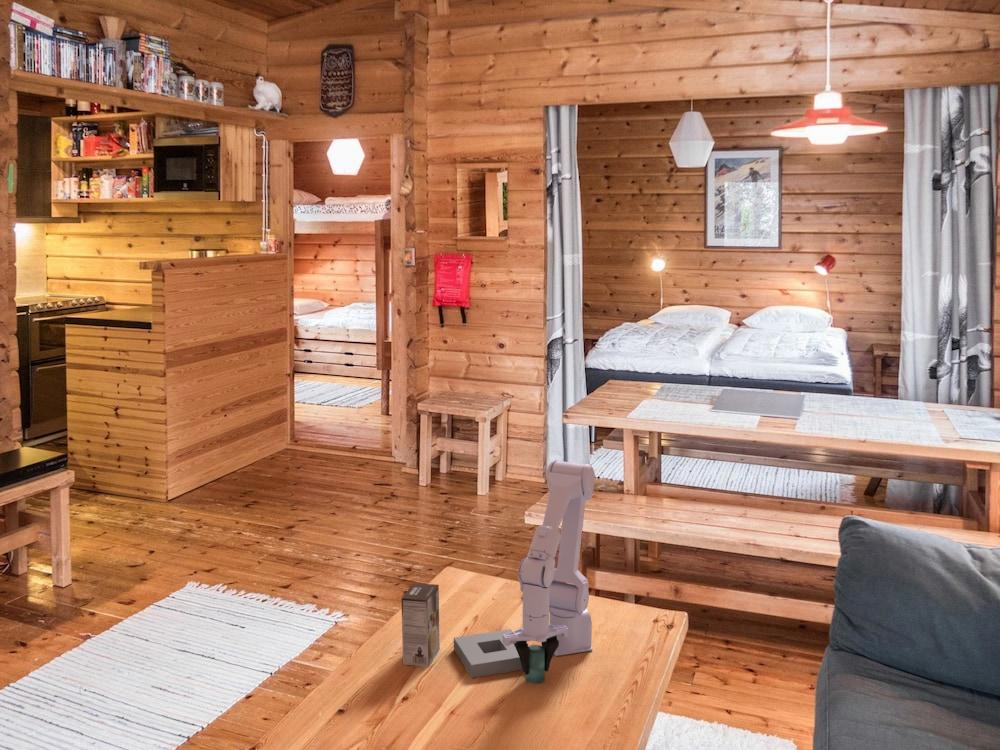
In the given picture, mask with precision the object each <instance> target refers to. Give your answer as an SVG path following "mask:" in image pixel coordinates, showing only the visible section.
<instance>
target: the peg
mask: <svg viewBox="0 0 1000 750" xmlns="http://www.w3.org/2000/svg"><path fill="white" fill-rule="evenodd" d="M528 647H529V648H530V649H531V650H530V655H529V674H528V675H525V680H526V681H527V683H530V684H532V683H533V684H534V683H535V684H534V685H538V684H543V683H544V682H545V679H546V678H545V676H546V675H545V672H546V671H545V648H544V647H542V645H538V644H532V645H531V644H530V645H528Z"/></svg>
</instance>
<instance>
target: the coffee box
mask: <svg viewBox="0 0 1000 750" xmlns="http://www.w3.org/2000/svg"><path fill="white" fill-rule="evenodd" d="M439 586H440V584H434V583H433V584H431V583H430V584H429V583H415V582H413V583H412V584H411V585H410V586H409V587H408V589H407V591H406V592H405V593H404V594H403V596H402V597H401V598H400V600H401V632H402V633H401V635H402V637H401V638H402V641H401V642H402V664H403V665H404V664H405V665H406V666H414V665H415V667H426V668H429V667H430V665H431V664H432V662H433V661H434V659H435V658H436V655H437V654H438V652H439V651H440V649H441V648H440V597H439V595H440V594H439V591H440V589H439ZM405 665H404V666H405Z"/></svg>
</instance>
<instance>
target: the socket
mask: <svg viewBox="0 0 1000 750" xmlns="http://www.w3.org/2000/svg"><path fill="white" fill-rule="evenodd" d="M510 632H513V630H512V629H511V628H510V629H502V630H496V631H490V632H483V633H477V634H469V635H463V636H457V637H453V651H454V652H455V654H456V655H457V657H458V659H459V660H460V662H461V663H462V665H463V666H464V668H465V670H466V671H467V673H468V674H469V676H470V678H471V679H472V678H473V679H474V678H478V677H479V678H480V677H486V676H492V675H497V674H503V673H509V672H514V671H520V670H521V671H522V665H521V661H520V658H519V655H518V652H517V650H516V648H515V646H514V644H510V646H505V645H504V644H503V634H506V633H510Z"/></svg>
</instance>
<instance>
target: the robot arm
mask: <svg viewBox="0 0 1000 750" xmlns="http://www.w3.org/2000/svg"><path fill="white" fill-rule="evenodd" d="M594 469H595V468H594V467H593V466H592V464H590V463H587V464H585V463H579V462H578V463H577V462H571V461H570V462H568V461H562V460H561V461H560V460H557V459H554V460H552V461H551V462H550V463H549V464H548V467H547V469H546V481H547V487H548V491H549V495H548V499H547V504H546V509H545V512H544V513H545V514H544V517H543V520H542V524H541V525H539V526H537V527H536V528H535V531H534V534H533V537H532V541H531V543H530V546H529V550H528V553H527V555H526V557H525V558H523V559H522V560H520V563H519V566H518V572H517V580H518V582H519V587H520V592H521V593H522V628H519V629H516V630H514V631H513V630H512V632H510V633H506V634H503V644H504V645H505V646H510V644H514V646H515V648H516V650H517V652H518V655H519V658H520V661H521V665H522V670H521V671H522V672H523V673H524V675H525V676H526V675H528V674H529V655H530V650H531V649H530V648H529V647H528V646H529V643H528V642H536V643H541V646H542V647H544V648H545V672H549V669H550V665H551V662H552V659H553V656H556V657H560V656H565V655H566V656H567V655H570V654H577V653H584V652H589V651H593V647H592V637H593V636H592V629H593V628H592V625H593V623H592V617H591V614H590V611H589V609H588V606H589V605H588V604H589V598H590V592H589V579H587V578H586V576H584V574H582V573H581V572H580V570H579V563H580V553H581V544H582V536H583V526H584V518H585V508H586V503H587V501H589V500H591V499H593V494H594V490H595V489H594V487H595V481H596V479H595V478H596V474H595V470H594ZM560 526H561V530H560V532H559V528H560ZM558 548H559V549H558ZM557 551H558V557H557V565H556V561H555V557H556V554H557ZM555 567H557V568H555Z"/></svg>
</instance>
